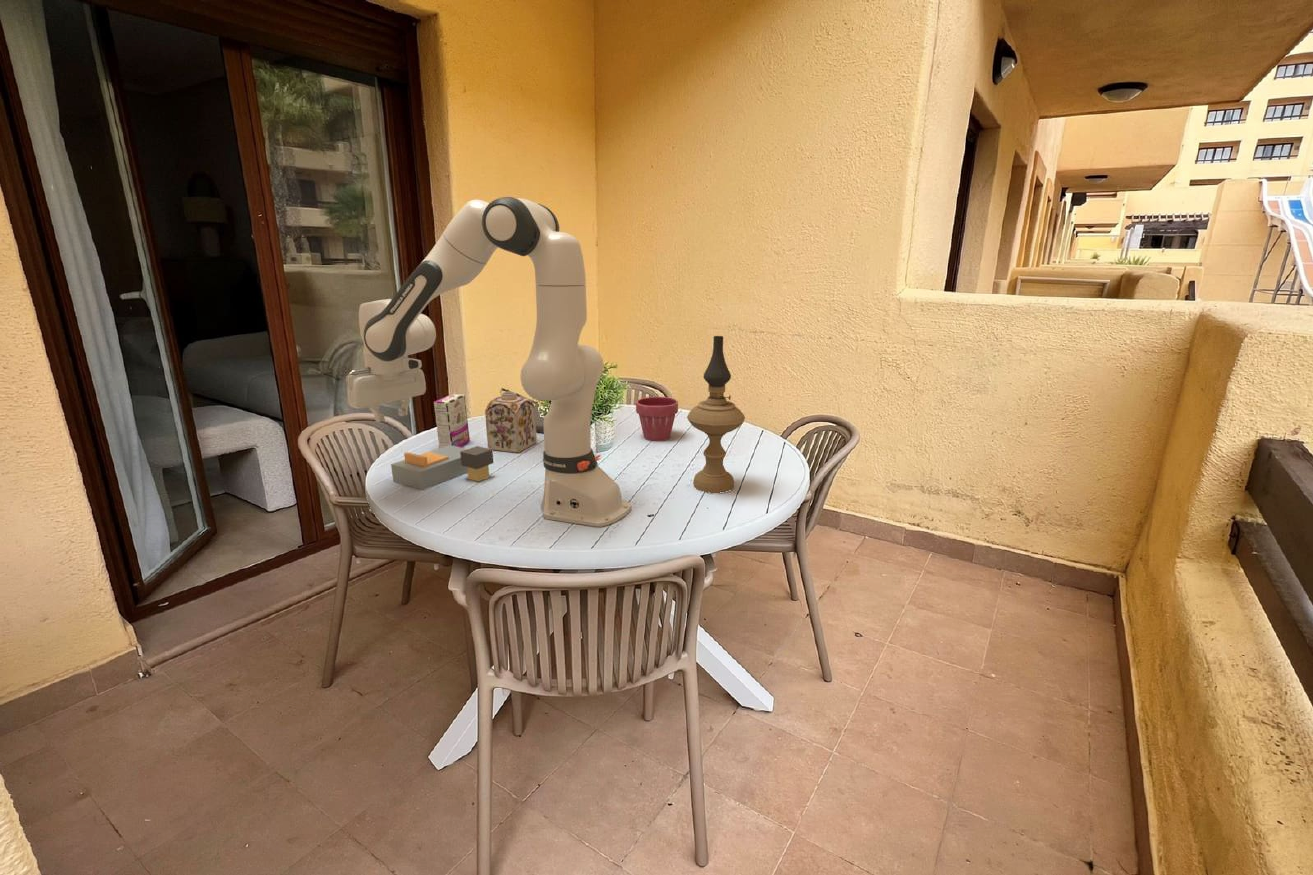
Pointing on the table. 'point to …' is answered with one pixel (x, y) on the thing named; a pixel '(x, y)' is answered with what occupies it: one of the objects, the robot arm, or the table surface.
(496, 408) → the decorative jar
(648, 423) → the plant pot
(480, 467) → the plug
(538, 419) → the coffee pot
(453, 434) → the candy bar box
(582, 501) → the robot arm
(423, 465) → the panel
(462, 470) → the socket block
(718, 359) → the oil lamp
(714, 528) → the table surface
